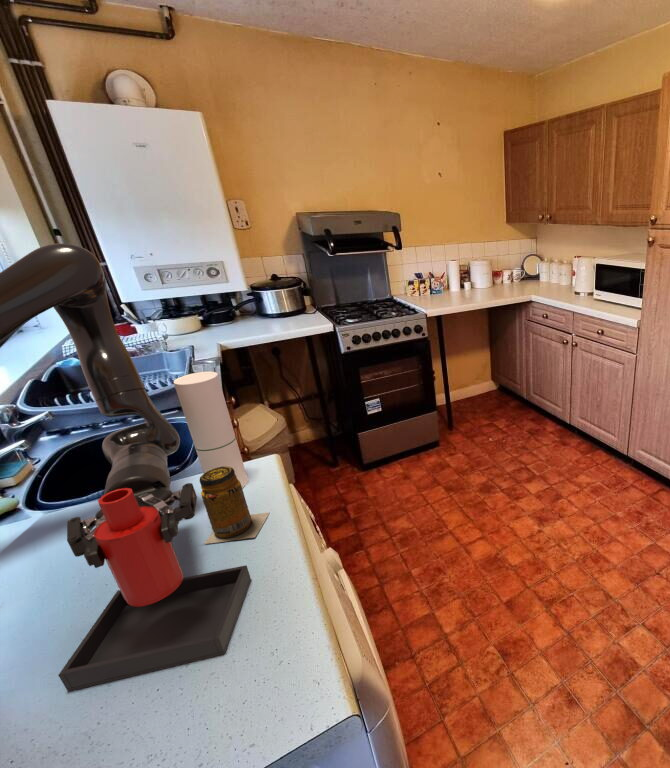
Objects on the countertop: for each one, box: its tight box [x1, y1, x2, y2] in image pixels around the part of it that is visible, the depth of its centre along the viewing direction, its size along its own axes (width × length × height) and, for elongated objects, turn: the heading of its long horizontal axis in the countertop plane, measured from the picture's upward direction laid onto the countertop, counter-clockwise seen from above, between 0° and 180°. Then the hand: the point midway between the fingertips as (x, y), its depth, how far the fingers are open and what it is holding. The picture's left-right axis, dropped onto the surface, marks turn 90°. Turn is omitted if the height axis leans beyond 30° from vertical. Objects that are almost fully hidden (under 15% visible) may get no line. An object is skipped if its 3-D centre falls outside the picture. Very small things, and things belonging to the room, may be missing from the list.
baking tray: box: [58, 565, 252, 692], centre depth 61 cm, size 17×13×3 cm
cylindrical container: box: [173, 371, 249, 489], centre depth 89 cm, size 7×7×25 cm
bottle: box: [94, 488, 184, 607], centre depth 56 cm, size 6×6×15 cm
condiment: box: [199, 466, 270, 545], centre depth 79 cm, size 7×8×12 cm
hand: (133, 548), depth 54 cm, fingers closed on bottle, 6 cm apart
